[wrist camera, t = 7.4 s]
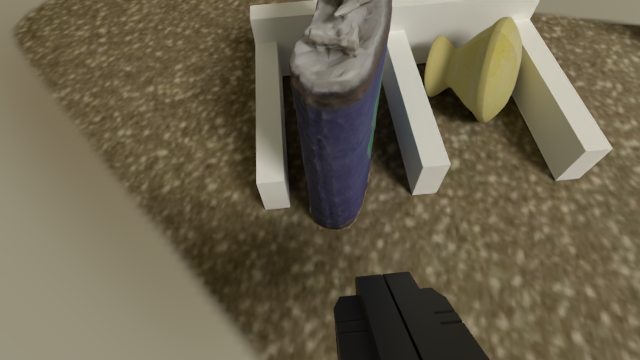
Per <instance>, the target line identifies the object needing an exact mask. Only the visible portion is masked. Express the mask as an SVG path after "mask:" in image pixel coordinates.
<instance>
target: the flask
mask: <svg viewBox="0 0 640 360" xmlns="http://www.w3.org/2000/svg"><path fill="white" fill-rule="evenodd" d="M391 16H392V0H317V4H316V10H315V12H314V15H313V17H312V19H311V22H310V24H309V26H308V28H307V29H306V30H305V31H304V33H303V36H302V37H301V38H300V39H299V40H298V41H297V42H296V44H295V48H294V50H293V52H292V55H291V58H290V62H289V69H290V77H291V83H290V84H291V89H292V94H293V98H294V108H295V110H296V115H297V125H298V131H299V133H300V143H301V147H302V157H303V163H304V169H305V176H306V179H307V189H308V192H309V203H310V213H311V216H312V217H313V219H314V221H315V222H316V223H317V224H318V227H319V230H321V229H323V228H324V229H328V230H330V231H331V230H333V231H341V230H344V229H348V228H350V226H351V225H352V224H353V223H354V222H355V221H356V220H357V215H358V214H359V213H360V211H361V209H362V207H363V202H364V199H365V198H364V197H365V194H366V191H367V189H368V185H369V184H368V180H369V178H370V171H371V168H370V166H371V161H372V153H371V152H372V144H373V137H374V130H375V126H376V115H377V108H378V102H379V95H380V89H381V82H382V75H383V67H384V60H385V55H386V49H387V43H388V36H389V31H390V25H391Z"/></svg>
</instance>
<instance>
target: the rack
mask: <svg viewBox="0 0 640 360" xmlns="http://www.w3.org/2000/svg"><path fill="white" fill-rule="evenodd" d="M539 1H540V0H392V16H391V25H390V31H389V36H388V43H387V49H386V55H385V60H384V67H383V75H382V83H383V87H384V91H385V94H386V98H387V102H388V106H389V109H390V113H391V117H392V121H393V125H394V128H395V132H396V136H397V140H398V144H399V147H400V151H401V155H402V159H403V163H404V166H405V170H406V174H407V178H408V182H409V185H410V189H411V193H412V195H418V194H428V193H436V192H437V190H438V188H439V186H440V184H441V182H442V180H443V178H444V176H445V175H446V173H447V171H448V169H449V167H450V165H451V164H450V162H449V159H448V156H447V153H446V150H445V147H444V144H443V141H442V138H441V135H440V132H439V130H438V127H437V124H436V121H435V118H434V115H433V112H432V109H431V106H430V103H429V101H428V98H427V95H426V92H425V89H424V86H423V83H422V80H421V77H420V74H419V71H418V69H417V66H416V64H422V63H426V62H427V57H428V54H429V51H430V48H431V46H432V44H433V42H434V40H435V39H436V37H438V36H440V35H443V36H445V37H446V38H447V39H448V40H449V41H450V42H451V43H452V45H453V46H454V47H455V48H456V49H458V48H460V47H462V46H463V45H464V44H466V43H467V42H468V41H469V40H471V39H472V38H473V37H475V36H476V35H477V34H479V33H480V32H482V31H484V30H485V29H487V28H489V27H490V26H492V25H493V24H494V23H495V22H496V21H498V20H499V19H500V18H502V17H511V18H512V19H513V21H514V22H515V24H516V26H517V28H518V31H519V34H520V37H521V40H522V57H521V64H520V68H519V73H518V77H517V80H516V84H515V87H514V89H513V92H512V94H511V95H512V97H513V99H514V101H515V103H516V105H517V107H518V109H519V111H520V113H521V114H522V116H523V118H524V120H525V122H526V124H527V126H528V128H529V130H530V132H531V134H532V136H533V138H534V140H535V142H536V144H537V146H538V148H539V150H540V152H541V154H542V155H543V157H544V159H545V161H546V163H547V165H548V167H549V169H550V171H551V173H552V175H553V177H554V179H555V181H558V180H568V179H578V178H580V177H581V176H582V175H583V174H585V173H586V172H587V171H588V170H589V169H590V168H591V167H593V166H594V165H595V164H596V163H597V162H598V161H599V160H600V159H602V158H603V157H604V156H605V155H606V154H607V153H608V152H610V151H611V150H612V149H613V148H612V147H611V145H610V144H609V142H608V140H607V139H606V137H605V136H604V134H603V133H602V131H601V130H600V128H599V126H598V125H597V123H596V122H595V120H594V119H593V117H592V116H591V114H590V112H589V111H588V109H587V108H586V106H585V105H584V103H583V102H582V100H581V98H580V97H579V95H578V94H577V92H576V91H575V89H574V88H573V86H572V85H571V83H570V81H569V80H568V78H567V77H566V75H565V74H564V72H563V71H562V69H561V67H560V66H559V64H558V63H557V61H556V60H555V58H554V57H553V55H552V53H551V52H550V50H549V49H548V47H547V46H546V44H545V43H544V41H543V39H542V38H541V36H540V35H539V33H538V32H537V30H536V29H535V27H534V25H533V24H532V22H531V21H530V18H531V16H532V14H533V12H534V10H535V9H536V7H537V5H538V3H539ZM316 4H317V0H313V1H301V2H289V3H278V4H266V5H254V6H250V21H251V26H252V31H253V35H254V40H255V61H256V184H257V187H258V190H259V193H260V196H261V198H262V201H263V204H264V207H265V209H266V210H269V209H279V208H289V207H290V195H289V179H288V163H287V146H286V130H285V114H284V97H283V81H282V76H290V69H289V62H290V58H291V55H292V52H293V50H294V48H295V44H296V42H297V41H298V40H299V39H300V38H301V37H302V36H303V33H304V31H305V30H306V29H307V28H308V26H309V24H310V22H311V19H312V17H313V15H314V12H315V10H316Z"/></svg>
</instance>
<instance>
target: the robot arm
mask: <svg viewBox="0 0 640 360" xmlns="http://www.w3.org/2000/svg"><path fill="white" fill-rule="evenodd" d="M355 286H356V295H353V296H343V297H339V299H338V301H337V303H336V305H335V307H334V318H335V330H336V343H337V355H338V360H489V358H488V357H487V355H486V354H485V353H484V351H483V350H482V348H481V347H480V346H479V344H478V343H477V341H476V340H475V338H474V337H473V336H472V334H471V333H470V331H469V330H468V329H467V327H466V326H465V324H464V323H462V320H461V319H460V317H459V316H458V314H457V313H456V312H455V311H454V309H453V307H452V306H451V304H450V303H449V302H448V300H447V299H446V297H444V296H443V295H441V294H440V293H438V292H437V291H435V290H434V289H432V288H422V289H419V287H418V285H417V284H416V282H415V280H414V279H413V277H412V275H411V274H410V272H400V273H390V274H383V275H381V274H380V275H370V276H360V277H356V278H355Z"/></svg>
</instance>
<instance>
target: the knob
mask: <svg viewBox="0 0 640 360" xmlns="http://www.w3.org/2000/svg"><path fill="white" fill-rule="evenodd" d="M521 57H522V40H521V37H520V34H519V31H518V28H517V26H516V24H515V22H514V21H513V19H512V18H511V17H502V18H500V19H499V20H498V21H496V22H495V23H494V24H493V25H492V26H490V27H489V28H487V29H485V30H484V31H482V32H480V33H479V34H477V35H476V36H475V37H473V38H472V39H471V40H469V41H468V42H467V43H466V44H464V45H463V46H462V47H460V48H458V49H456V48H455V47H454V46H453V45H452V43H451V42H450V41H449V40H448V39H447V38H446V37H445V36H443V35H440V36H438V37H436V39H435V40H434V42H433V44H432V46H431V48H430V51H429V54H428V57H427V62H426V67H425V75H424V85H425V91H426V94H427V95H428V96H429V97H433V96H436V95H437V94H439V93H440V92H442V91H443V90H445V89H446V88H448V87H450V88H452V90H453V91H454V92H455V93H456V95H457V96H458V97H459V98H460V100H461V101H462V102H463V104H464V105H465V106H466V107H467V108H468V109H469V110H470V111H471V112H472V113H473V114H474V116H475V117H476V119H477V120H478V121H480V122H488V121H489V120H491V119H492V118H493V117H494V116H496V115H497V114H498V113H499V112H500V111H501V110H502V108H503V107H504V106H505V105H506V104H507V102H508V100H509V98H510V96H511V94H512V92H513V89H514V87H515V84H516V80H517V77H518V73H519V68H520V64H521Z"/></svg>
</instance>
